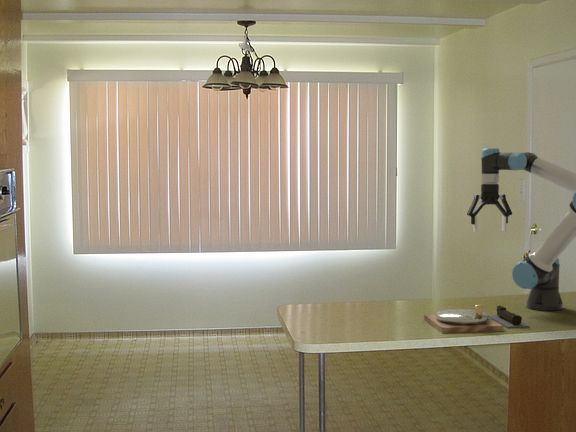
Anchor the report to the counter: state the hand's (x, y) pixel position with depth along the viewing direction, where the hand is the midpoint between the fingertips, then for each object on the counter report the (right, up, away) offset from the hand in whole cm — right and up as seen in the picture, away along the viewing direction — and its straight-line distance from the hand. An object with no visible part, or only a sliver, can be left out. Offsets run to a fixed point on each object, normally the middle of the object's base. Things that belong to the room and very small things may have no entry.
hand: (489, 231), depth 335 cm
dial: (-20, -34, -35) cm, 53 cm away
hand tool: (-1, -35, -30) cm, 46 cm away
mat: (-1, -36, -30) cm, 46 cm away
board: (-20, -36, -35) cm, 54 cm away
